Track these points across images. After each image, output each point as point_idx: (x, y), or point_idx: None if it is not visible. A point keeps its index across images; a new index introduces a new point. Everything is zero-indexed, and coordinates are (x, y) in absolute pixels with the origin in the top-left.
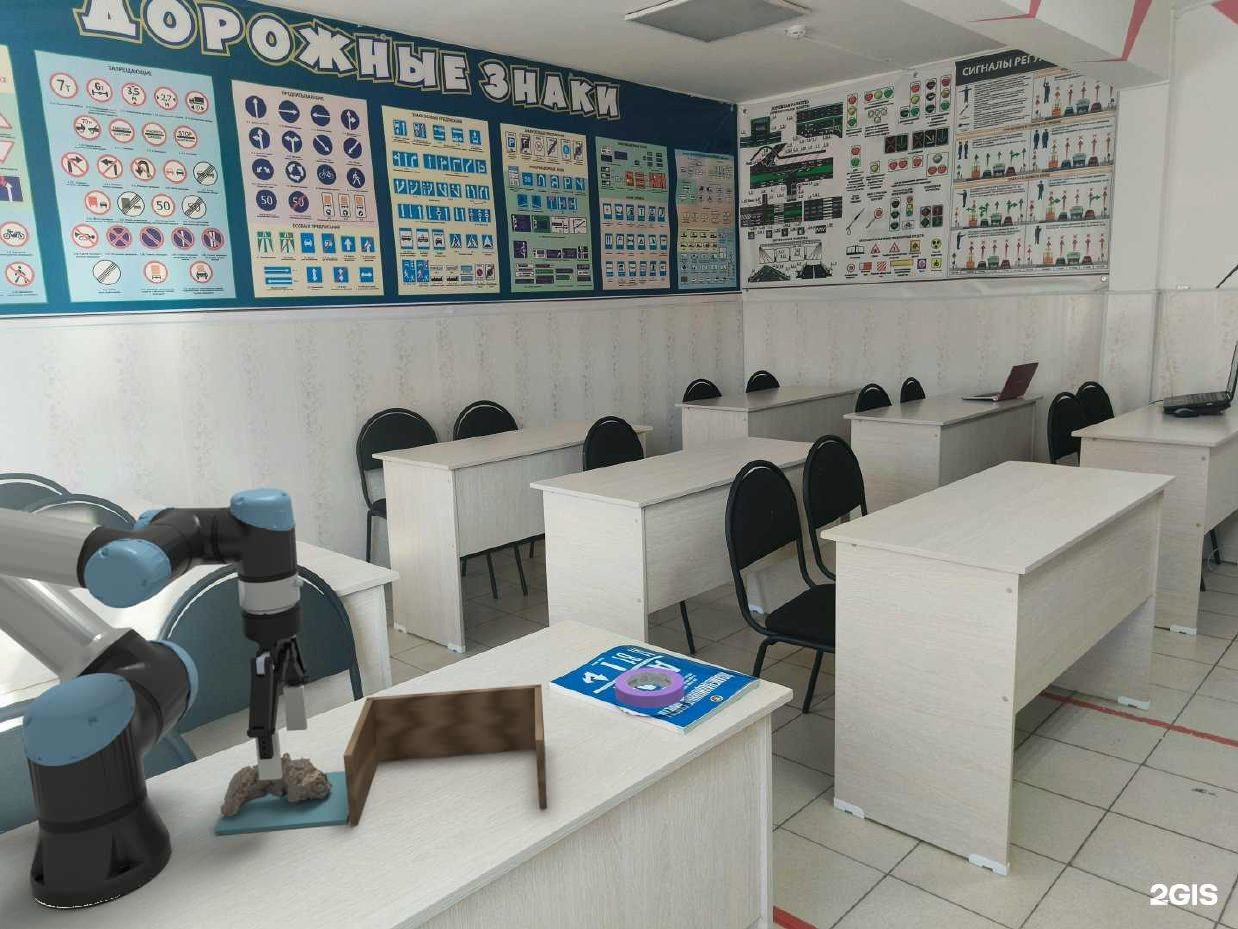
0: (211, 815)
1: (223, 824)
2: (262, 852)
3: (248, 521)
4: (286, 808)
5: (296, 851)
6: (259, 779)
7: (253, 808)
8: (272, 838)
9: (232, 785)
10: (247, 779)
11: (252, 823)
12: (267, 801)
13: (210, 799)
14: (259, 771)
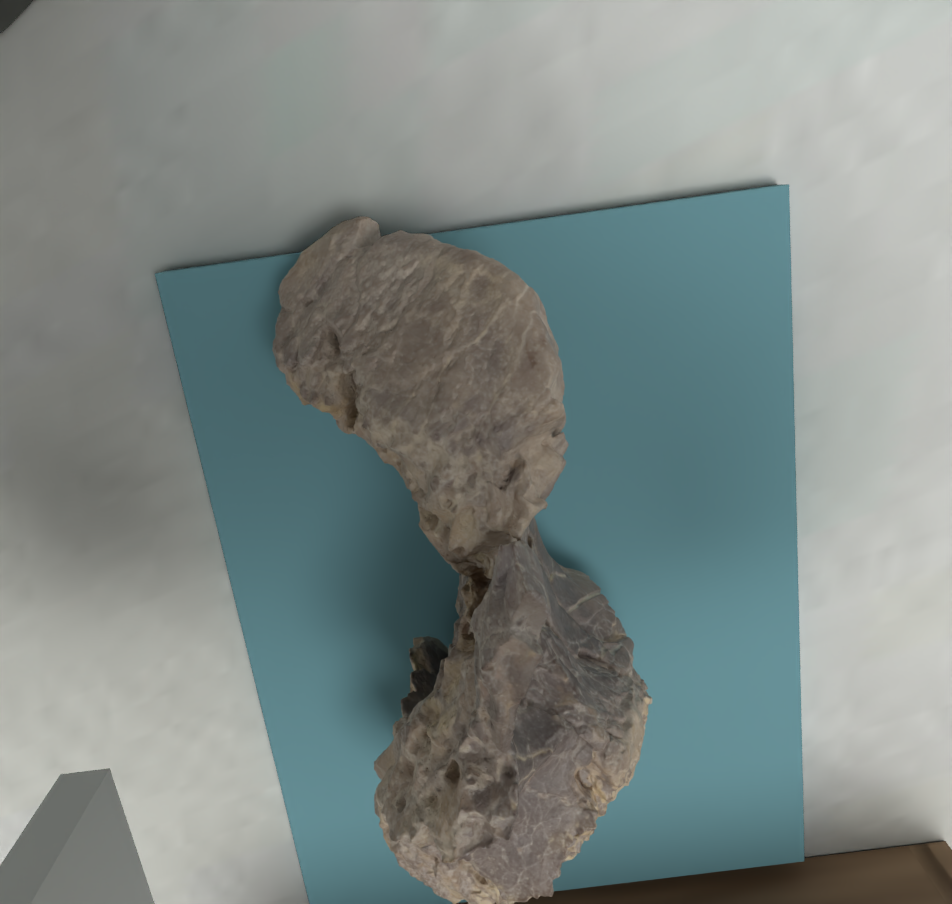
0: (384, 129)
1: (230, 297)
2: (44, 608)
3: None
4: (411, 604)
5: (75, 761)
6: (58, 780)
7: None
8: (169, 609)
9: (414, 306)
10: (400, 454)
11: (253, 473)
12: None
13: (586, 14)
14: (22, 842)
